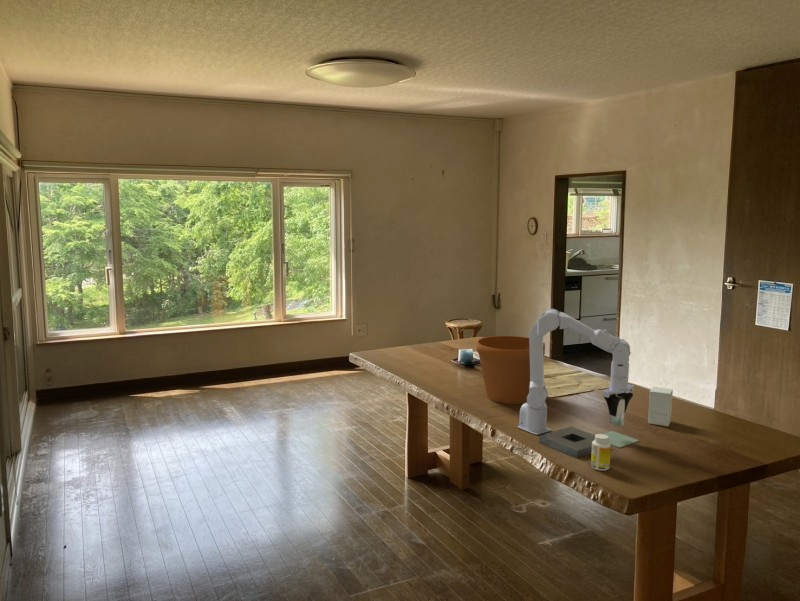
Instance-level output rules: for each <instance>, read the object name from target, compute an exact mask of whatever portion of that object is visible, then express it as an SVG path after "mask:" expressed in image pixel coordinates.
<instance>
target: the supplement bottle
mask: <svg viewBox="0 0 800 601" xmlns="http://www.w3.org/2000/svg"><path fill="white" fill-rule="evenodd" d="M594 435H595V440H594V441H593V442H592V453H590V454H591V455H590V456H591V457H590V466H591V468H592V469H593V470H596V471H599V472H600V471H601V472H602V471H603V472H605V471H607V470H610V467H611V466H610V465H611V453H612V452H611V449H612V448H611V447H612V445H611V444H610V442H608V441H609V440H608V439H609V437H608V436H607V435H604V433H597V434H594Z"/></svg>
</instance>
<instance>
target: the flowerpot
mask: <svg viewBox="0 0 800 601" xmlns="http://www.w3.org/2000/svg"><path fill="white" fill-rule="evenodd" d="M476 352H477V353H478V357H479V358H478V359H479V363H480V368H481V373H482V377H483V378H482V379H483V382H484V388H485V392H486V393H485V394H486V398H487V399H488V400H490V401H493V402H496V403H498V404H499V403H500V404H506V405H517V404H518V405H519V404H524V403H527V396H528V394H529V387H530V347H529V337H525V336H516V335H493V336H492V335H491V336H486V337H481V338H479V339H477V340H476ZM545 354H546V342H543V357H544V356H545Z"/></svg>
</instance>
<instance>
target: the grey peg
mask: <svg viewBox="0 0 800 601" xmlns="http://www.w3.org/2000/svg"><path fill="white" fill-rule="evenodd" d="M616 396H617V395H616ZM617 397H619V396H617ZM619 398H621V399H620V401H619V403H618V407H617V413H616V416H612V415H610V414H609V416H610V417H609V424H610V425H612V426H618V427H621V426H624V423H625V413H624V410H625V398H623V397H619Z"/></svg>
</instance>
